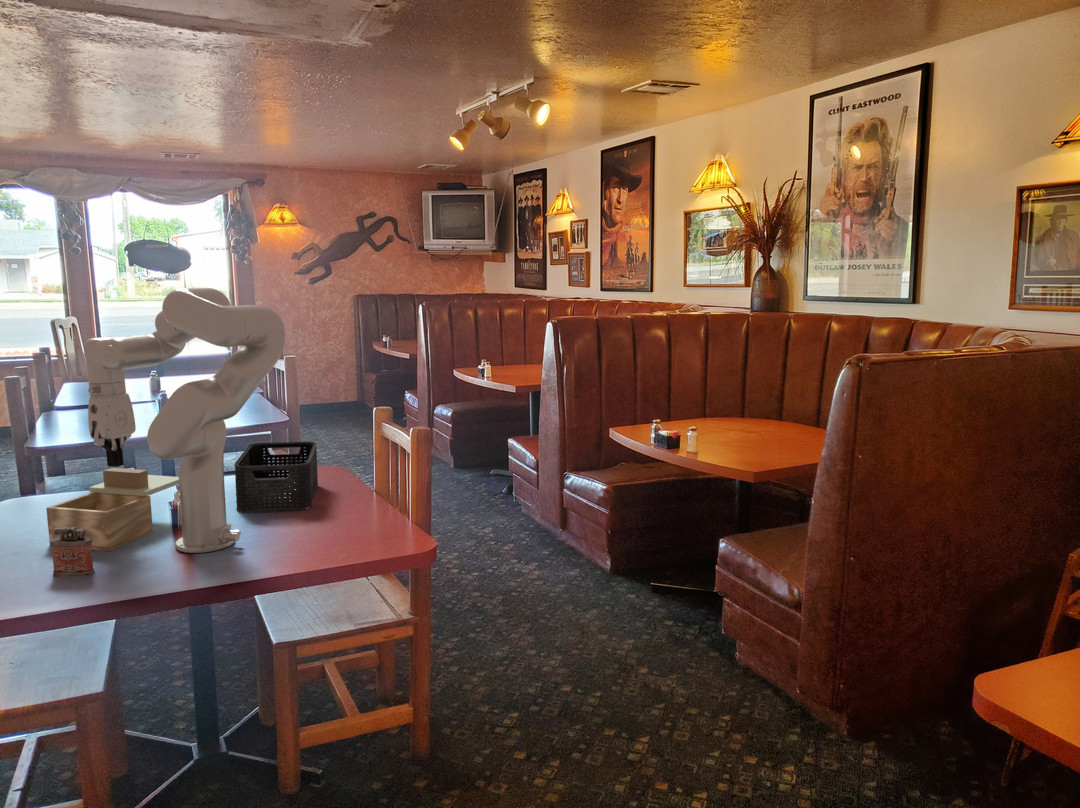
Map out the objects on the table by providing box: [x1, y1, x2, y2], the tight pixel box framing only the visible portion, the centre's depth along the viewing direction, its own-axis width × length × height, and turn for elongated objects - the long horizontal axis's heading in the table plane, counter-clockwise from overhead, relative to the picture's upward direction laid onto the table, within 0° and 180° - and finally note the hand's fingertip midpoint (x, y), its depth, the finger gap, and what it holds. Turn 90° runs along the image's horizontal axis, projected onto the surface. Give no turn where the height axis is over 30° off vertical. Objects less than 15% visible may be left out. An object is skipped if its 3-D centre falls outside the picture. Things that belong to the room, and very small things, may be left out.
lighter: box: [49, 527, 96, 578], centre depth 159 cm, size 8×3×10 cm, turn 92°
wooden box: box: [45, 492, 154, 552], centre depth 181 cm, size 16×14×9 cm
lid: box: [88, 467, 179, 496], centre depth 192 cm, size 16×14×5 cm
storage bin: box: [234, 441, 319, 514], centre depth 217 cm, size 29×19×13 cm
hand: (115, 465), depth 184 cm, fingers closed
